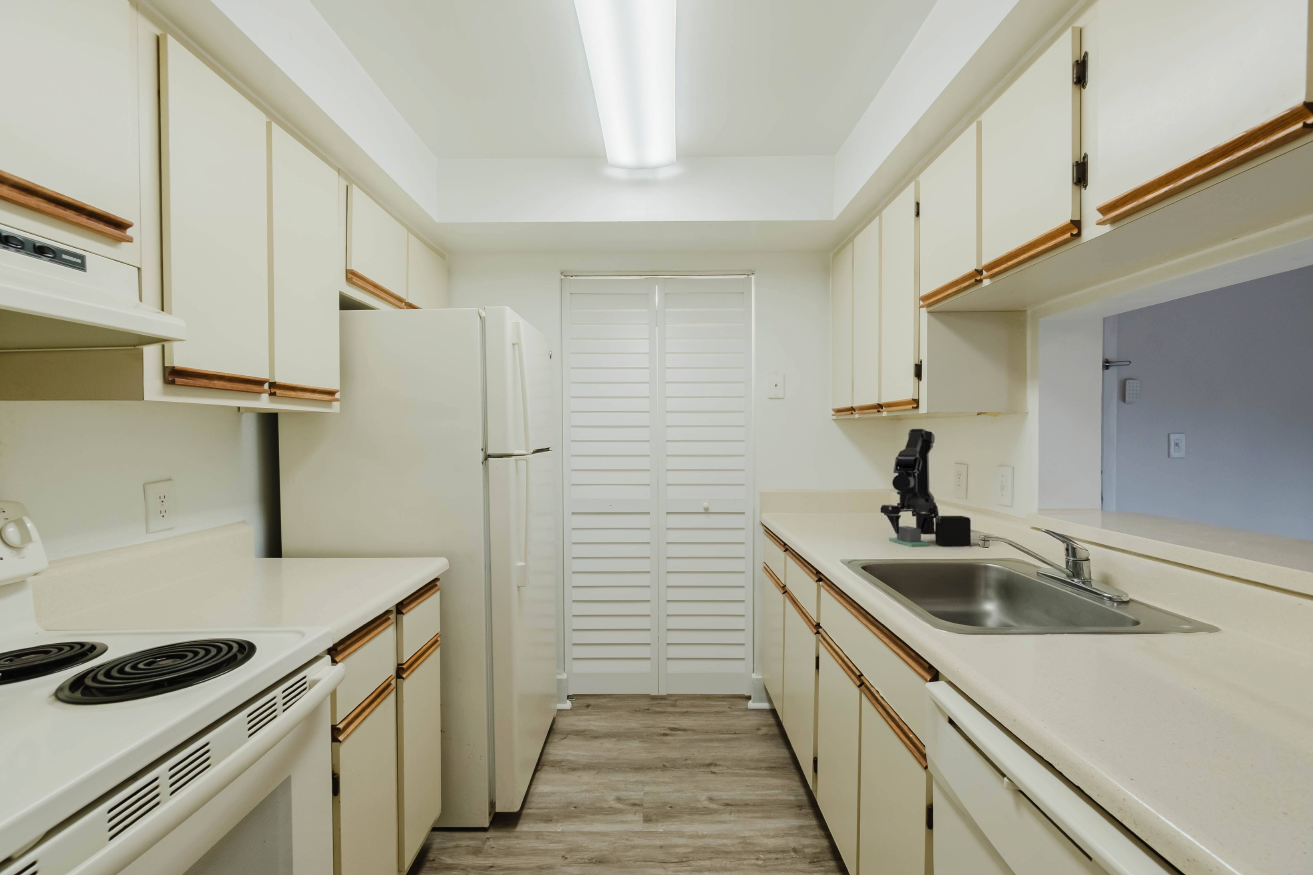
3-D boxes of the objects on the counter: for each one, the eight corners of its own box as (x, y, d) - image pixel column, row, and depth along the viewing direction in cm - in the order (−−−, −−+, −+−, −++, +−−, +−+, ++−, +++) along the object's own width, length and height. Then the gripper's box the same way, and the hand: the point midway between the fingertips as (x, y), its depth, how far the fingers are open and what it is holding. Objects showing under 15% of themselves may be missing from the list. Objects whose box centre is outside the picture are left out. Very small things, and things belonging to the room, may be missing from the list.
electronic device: (971, 546, 183) (970, 517, 183) (941, 546, 183) (941, 517, 183) (964, 544, 187) (963, 515, 187) (935, 544, 188) (934, 515, 188)
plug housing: (896, 538, 193) (896, 526, 193) (907, 538, 194) (907, 525, 194) (909, 542, 186) (909, 529, 186) (921, 541, 187) (920, 528, 187)
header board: (889, 540, 195) (889, 531, 195) (906, 539, 196) (906, 530, 196) (911, 546, 183) (911, 536, 183) (929, 545, 184) (929, 535, 185)
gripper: (899, 491, 180) (900, 538, 180) (947, 490, 184) (948, 536, 184) (879, 489, 191) (879, 533, 191) (925, 487, 195) (925, 530, 195)
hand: (908, 533), depth 190 cm, fingers open, 9 cm apart
